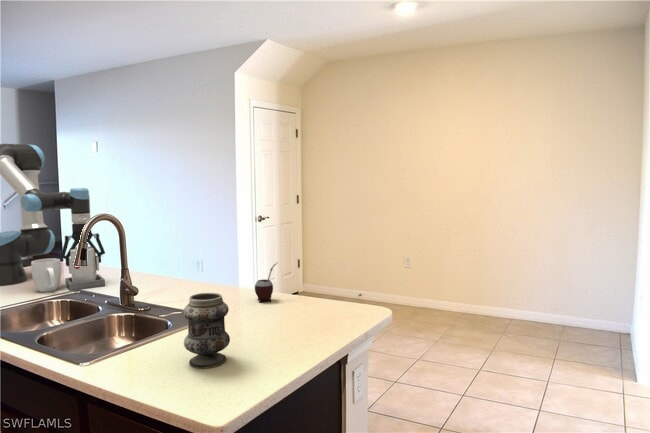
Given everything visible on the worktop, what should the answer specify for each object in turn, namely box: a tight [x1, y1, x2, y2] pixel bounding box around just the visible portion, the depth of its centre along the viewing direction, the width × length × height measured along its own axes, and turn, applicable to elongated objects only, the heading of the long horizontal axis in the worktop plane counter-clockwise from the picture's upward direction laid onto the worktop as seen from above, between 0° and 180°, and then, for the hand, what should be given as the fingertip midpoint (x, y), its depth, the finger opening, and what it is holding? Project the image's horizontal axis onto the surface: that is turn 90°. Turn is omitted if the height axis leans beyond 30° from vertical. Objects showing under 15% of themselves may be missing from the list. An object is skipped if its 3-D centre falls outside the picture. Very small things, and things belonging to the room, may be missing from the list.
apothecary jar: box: [182, 292, 231, 369], centre depth 130 cm, size 12×12×18 cm
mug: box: [30, 257, 62, 293], centre depth 208 cm, size 15×11×13 cm
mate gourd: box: [254, 261, 278, 304], centre depth 189 cm, size 8×8×15 cm
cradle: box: [64, 273, 106, 292], centre depth 218 cm, size 14×14×3 cm
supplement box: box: [69, 246, 98, 283], centre depth 217 cm, size 9×9×15 cm
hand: (84, 271), depth 218 cm, fingers closed on supplement box, 10 cm apart
